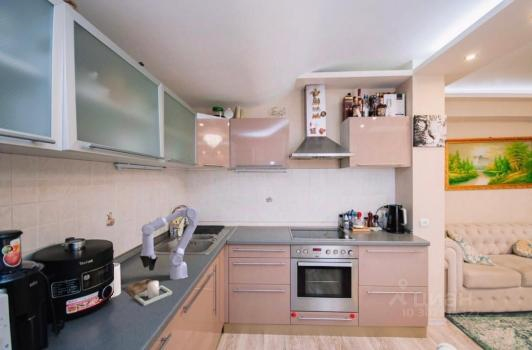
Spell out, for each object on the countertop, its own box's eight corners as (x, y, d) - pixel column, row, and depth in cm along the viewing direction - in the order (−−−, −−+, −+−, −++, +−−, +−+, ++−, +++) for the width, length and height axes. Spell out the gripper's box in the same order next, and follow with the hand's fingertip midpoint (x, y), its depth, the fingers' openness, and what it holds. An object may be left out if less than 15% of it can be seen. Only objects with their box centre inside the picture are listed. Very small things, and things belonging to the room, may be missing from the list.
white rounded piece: (156, 292, 125) (156, 279, 125) (160, 296, 121) (160, 282, 121) (143, 297, 120) (142, 284, 120) (147, 301, 117) (146, 287, 116)
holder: (150, 281, 140) (149, 277, 140) (161, 288, 131) (161, 283, 131) (124, 291, 130) (123, 286, 129) (134, 299, 120) (134, 294, 120)
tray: (162, 289, 130) (162, 285, 130) (172, 295, 123) (172, 291, 123) (135, 300, 120) (134, 295, 120) (144, 307, 113) (144, 302, 113)
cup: (124, 291, 129) (123, 262, 129) (115, 299, 121) (114, 268, 121) (108, 292, 129) (107, 263, 129) (98, 300, 120) (97, 269, 120)
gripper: (135, 244, 138) (136, 267, 138) (146, 249, 128) (147, 274, 129) (147, 241, 143) (148, 264, 143) (159, 245, 134) (159, 269, 134)
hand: (148, 268), depth 136 cm, fingers open, 7 cm apart
